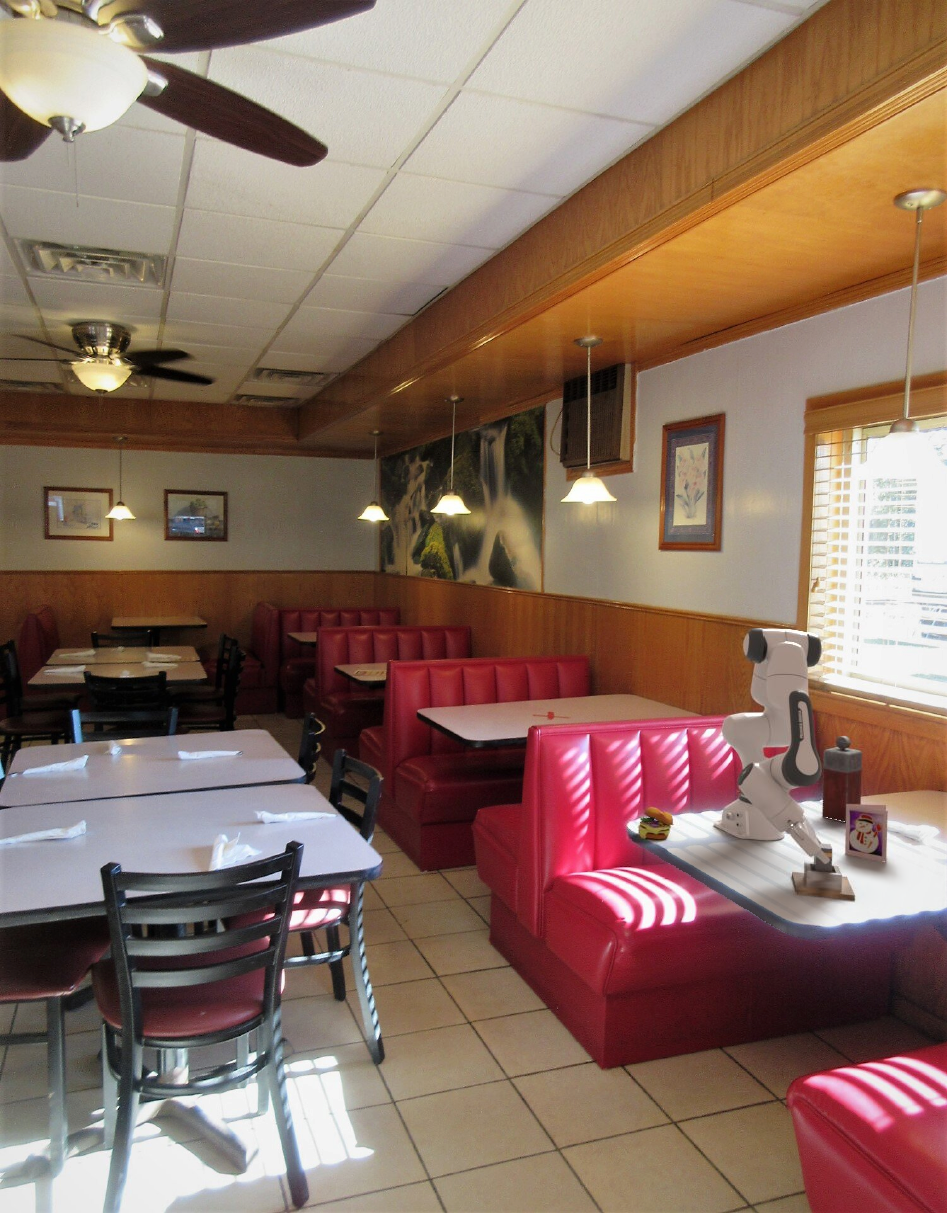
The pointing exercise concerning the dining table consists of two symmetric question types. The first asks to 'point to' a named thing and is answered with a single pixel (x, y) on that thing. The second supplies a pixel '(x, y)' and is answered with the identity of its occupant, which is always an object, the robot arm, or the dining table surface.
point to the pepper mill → (841, 779)
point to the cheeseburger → (655, 824)
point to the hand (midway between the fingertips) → (825, 855)
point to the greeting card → (866, 831)
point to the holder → (822, 883)
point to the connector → (819, 864)
